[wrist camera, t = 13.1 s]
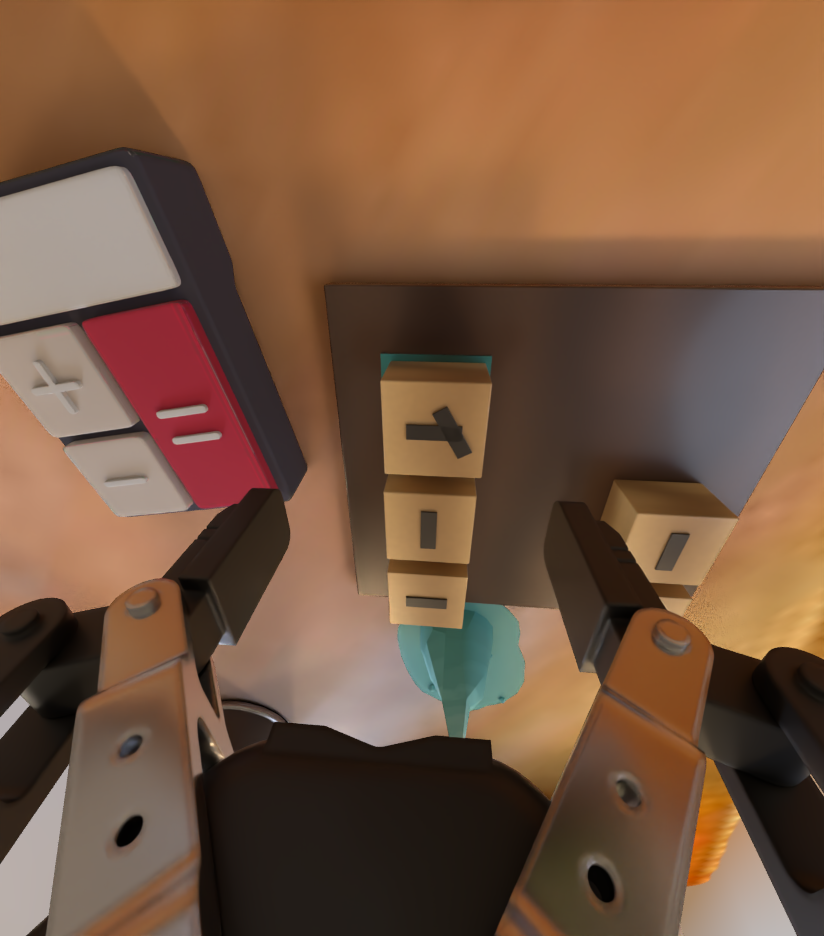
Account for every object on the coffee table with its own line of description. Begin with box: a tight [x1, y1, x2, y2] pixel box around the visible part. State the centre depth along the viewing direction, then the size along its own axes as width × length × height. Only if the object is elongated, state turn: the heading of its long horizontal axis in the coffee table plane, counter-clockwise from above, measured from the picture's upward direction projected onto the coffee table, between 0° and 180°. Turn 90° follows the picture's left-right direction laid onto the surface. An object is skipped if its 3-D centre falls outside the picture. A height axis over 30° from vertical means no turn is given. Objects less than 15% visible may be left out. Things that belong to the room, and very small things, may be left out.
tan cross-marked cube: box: [380, 361, 492, 478], centre depth 17 cm, size 4×4×3 cm
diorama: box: [398, 602, 525, 738], centre depth 28 cm, size 12×20×9 cm, turn 11°
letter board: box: [324, 283, 824, 629], centre depth 19 cm, size 22×20×4 cm
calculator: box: [0, 147, 307, 517], centre depth 18 cm, size 11×4×15 cm
